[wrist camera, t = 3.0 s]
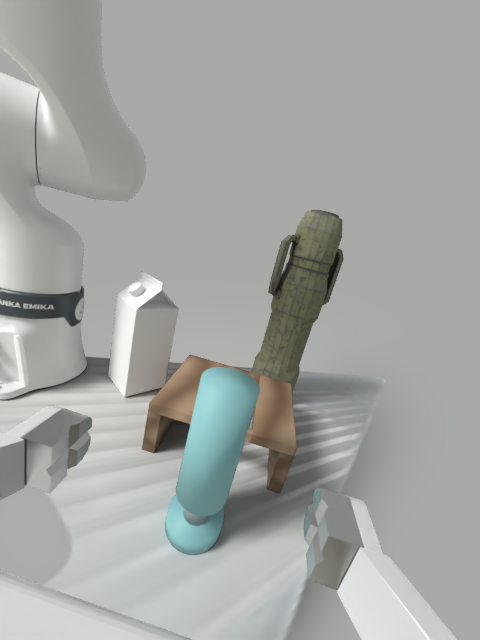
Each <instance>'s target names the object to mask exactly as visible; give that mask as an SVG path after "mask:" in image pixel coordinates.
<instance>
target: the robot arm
mask: <svg viewBox="0 0 480 640" xmlns="http://www.w3.org/2000/svg"><path fill="white" fill-rule="evenodd" d="M101 16H102V0H0V48H1V49H2V50H4V51H5V52H6V53H7V54H8V55H9V56H10V57H11V58H13V59H14V60H15V61H16V62H17V63H18V64H19V65H20V66H21V67H22V68H23V69H24V70H25V71H26V72H27V73H28V75H29V76H30V77H31V78H32V79H33V81H34V82H35V83H36V85H37V86H38V88H37V87H35V86H32V85H30V84H27V83H25V82H23V81H20V80H18V79H15V78H13V77H11V76H8V75H6V74H3V73H1V72H0V399H10V398H13V397H16V396H19V395H22V394H24V393H27V392H29V391H32V390H35V389H40V388H45V387H50V386H54V385H57V384H61V383H64V382H66V381H69V380H71V379H73V378H75V377H76V376H78V375H79V374H80V373H82V372H83V371H84V369H85V368H86V365H87V360H86V357H85V354H84V350H83V345H82V339H81V324H80V322H81V320H82V317H83V312H84V288H83V287H82V286H81V284H82V270H83V255H84V244H83V240H82V238H81V236H80V235H79V233H78V232H77V231H76V230H75V229H74V228H73V227H72V226H71V225H69V224H68V223H67V222H65V221H64V220H62V219H61V218H59V217H58V216H56V215H55V214H53V213H51V212H50V211H48V210H47V209H45V208H44V207H43V206H42V205H41V204H40V203H39V201H38V200H37V198H36V195H35V191H34V186H36V185H40V186H41V185H43V186H47V187H51V188H54V189H58V190H62V191H66V192H70V193H73V194H77V195H81V196H85V197H88V198H92V199H98V200H109V201H128V200H130V199H131V198H133V197H134V196H135V195H136V194H137V193H138V192H139V190H140V189H141V187H142V184H143V182H144V179H145V173H146V162H145V156H144V153H143V150H142V147H141V145H140V143H139V141H138V139H137V137H136V136H135V134H134V133H133V132H132V131H131V130H130V128H129V127H128V126H127V124H126V123H125V121H124V120H123V118H122V117H121V115H120V113H119V111H118V110H117V108H116V105H115V103H114V101H113V99H112V96H111V94H110V91H109V88H108V85H107V82H106V78H105V73H104V68H103V62H102V46H101V19H102V17H101ZM91 427H92V419H91V418H90V417H88V416H85V415H82V414H79V413H76V412H73V411H70V410H67V409H63V408H60V407H57V406H54V405H49V406H46V407H44V408H43V409H41V410H40V411H38V412H37V413H35V414H34V415H32V416H31V417H29V418H28V419H26V420H25V421H23V422H22V423H20V424H19V425H17V426H16V427H14V428H13V429H11V430H10V431H8V432H7V433H2V432H0V500H1V499H3V498H5V497H7V496H9V495H11V494H13V493H15V492H17V491H19V490H21V489H22V488H24V486H26V487H30V488H33V489H37V490H40V491H43V492H47V493H51V492H52V491H53V490H54V489H55V488H56V487H57V485H58V484H59V483H60V482H61V481H62V480H63V479H64V478H65V477H66V475H67V469H69V468H71V467H74V466H76V465H77V464H78V463H79V462H80V461H81V460H82V459H83V457H84V455H85V454H86V452H87V450H88V448H89V445H90V440H91V437H90V435H89V433H88V430H89V429H90V428H91ZM313 502H314V503H312V504H310V505H308V508H307V511H306V514H305V520H304V537H305V540H306V542H307V544H308V545H309V549H308V551H307V553H306V558H307V568H308V578H309V580H311V581H314V582H316V583H319V584H322V585H325V586H327V587H330V588H333V589H335V590H338V591H337V593H338V595H339V597H340V599H341V601H342V603H343V605H344V607H345V609H346V611H347V613H348V615H349V617H350V619H351V621H352V622H353V624H354V626H355V628H356V630H357V632H358V634H359V636H360V638H361V640H457V639H456V637H455V636H454V635H453V634H452V632H451V631H450V630H449V629H448V628H447V626H446V625H445V624H444V623H443V622H442V620H441V619H440V618H439V617H438V615H437V614H436V613H435V612H434V611H433V609H432V608H431V607H430V606H429V605H428V603H427V602H426V601H425V600H424V599H423V597H422V596H421V595H420V594H419V592H418V591H417V590H416V589H415V588H414V586H413V585H412V584H411V583H410V582H409V581H408V579H407V578H406V577H405V575H404V574H403V573H402V572H401V571H400V569H399V568H398V567H397V566H396V565H395V563H394V562H393V561H392V560H391V558H390V557H389V556H387V555H384V554H383V551H382V549H381V546H380V543H379V540H378V538H377V535H376V532H375V529H374V526H373V524H372V521H371V518H370V515H369V512H368V510H367V507H366V504H365V502H364V501H363V500H360V499H357V498H353V497H349V496H345V495H343V494H339V493H336V492H332V491H329V490H326V489H322V488H319V487H317V488H316V489H315V491H314V493H313ZM0 640H193V639H190V638H187V637H184V636H181V635H179V634H176V633H173V632H170V631H168V630H165V629H162V628H159V627H157V626H154V625H151V624H148V623H145V622H143V621H140V620H137V619H134V618H132V617H129V616H126V615H123V614H120V613H118V612H115V611H112V610H109V609H106V608H104V607H101V606H98V605H95V604H93V603H90V602H87V601H84V600H81V599H79V598H76V597H73V596H70V595H67V594H65V593H62V592H59V591H56V590H54V589H51V588H48V587H45V586H42V585H40V584H37V583H34V582H31V581H29V580H25V579H23V578H20V577H17V576H14V575H12V574H9V573H6V572H4V571H1V570H0Z"/></svg>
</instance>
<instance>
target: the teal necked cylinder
mask: <svg viewBox="0 0 480 640" xmlns="http://www.w3.org/2000/svg"><path fill="white" fill-rule="evenodd" d="M259 392H260V387H259V385H258V383H257V382H256V380H255V379H254V378H252V377H251V376H250V375H248V374H246V373H244V372H242V371H240V370H237V369H233V368H228V367H213V368H210V369H207V370H205V371H204V372H203V373H202V375H201V379H200V384H199V388H198V393H197V397H196V402H195V406H194V411H193V415H192V419H191V424H190V428H189V433H188V437H187V442H186V446H185V450H184V455H183V459H182V464H181V468H180V473H179V477H178V482H177V486H176V495H175V496H174V497H173V499H172V500H171V502H170V504H169V508H168V512H167V516H166V522H165V530H166V535H167V537H168V540H169V541H170V543H171V544H172V545H173V547H175V548H176V549H177V550H178V551H180V552H182V553H185V554H189V555H197V554H201V553H204V552H206V551H207V550H209V549H210V548H211V547H212V546H213V545H214V544H215V543H216V541H217V539H218V537H219V534H220V531H221V528H222V524H223V520H224V510H223V506H224V505H225V503H226V501H227V497H228V494H229V491H230V488H231V484H232V481H233V478H234V474H235V471H236V468H237V465H238V461H239V458H240V455H241V451H242V448H243V445H244V441H245V438H246V435H247V432H248V428H249V425H250V422H251V418H252V415H253V412H254V409H255V405H256V402H257V399H258V395H259Z"/></svg>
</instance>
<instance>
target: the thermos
mask: <svg viewBox="0 0 480 640" xmlns="http://www.w3.org/2000/svg"><path fill="white" fill-rule="evenodd" d="M341 238H342V219H340V218H339V216H338V215H336V214H333V213H330V212H325V211H320V210H311V211H310V212H306V214H305V215H304V217H303V218H302V220H301V221H300V223H299V225H298V226H297V230H296V233H295V235H292V236H291V235H288V236H287V237H286V238H285V239H284V240H283V241H282V242H281V245H280V249H279V252H278V256H277V260H276V263H275V267H274V270H273V274H272V277H271V281H270V286H269V293H270V294H272V295H273V296H274V297H273V300H272V304H271V308H272V313H271V316H270V320H269V323H268V327H267V330H266V333H265V337H264V340H263V344H262V347H261V351H260V352H259V353H258V355H257V356H256V358H255V361H254V365H253V368H252V372H251V373H255V374H258V375H262V376H265V377H269V378H272V379H276V380H279V381H282V382H286V383H289V384H291V391H293V389H294V387H295V384H296V381H297V378H298V375H299V363H300V360H301V357H302V354H303V351H304V348H305V345H306V343H307V340H308V337H309V334H310V331H311V328H312V325H313V323H314V322H315V321H316V319H318V316H319V313H320V310H321V307H322V305H324V304H326V303H327V302H329V299H330V296H331V292H332V290H333V287H334V284H335V282H336V278H337V276H338V273H339V270H340V267H341V265H342V262H343V254H342V251H341V250H340V249H338V246H339V243H340V241H341ZM291 242H293V243H292V247H291V250H290V258H289V261H288V263H287V264H286V267H285V270H284V271H283V273H282V269H283V266H284V262H285V258H286V255H287V252H288V248H289V245H290V243H291ZM281 273H282V274H281Z"/></svg>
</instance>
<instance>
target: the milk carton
mask: <svg viewBox="0 0 480 640" xmlns="http://www.w3.org/2000/svg"><path fill="white" fill-rule="evenodd" d="M163 284H164V283H162V282H160V281H159V280H157V279H155V278H153V277H152V276H150V275H148V274H146V273H144V272H143V271H141V276H140V278H139V279H137V280H136V281H135V282H133V283H132V284H130V285H129V286H128V287H126V288H125V289H123V290H122V291H121V292H119V293H118V294H117V300H116V309H115V318H114V327H113V337H112V345H111V354H110V364H109V373H108V376H109V377H110V379H111V380H112V381H113V383H114V384H115V385H116V387H117V388H118V389H119V391H120V392H121V393H122V395H123V396H124V397H127V396H131V395H135V394H139V393H143V392H147V391H151V390H155V389H159V388H162V387H163V386H164V385H165V381H166V375H167V370H168V364H169V359H170V353H171V348H172V342H173V336H174V331H175V326H176V320H177V315H178V307H177V306H176V305H175V304H174V303H173V302H172V300H171V299H170V298H169V297H168V296H167V295H166V294H165V293H164V291H163Z"/></svg>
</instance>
